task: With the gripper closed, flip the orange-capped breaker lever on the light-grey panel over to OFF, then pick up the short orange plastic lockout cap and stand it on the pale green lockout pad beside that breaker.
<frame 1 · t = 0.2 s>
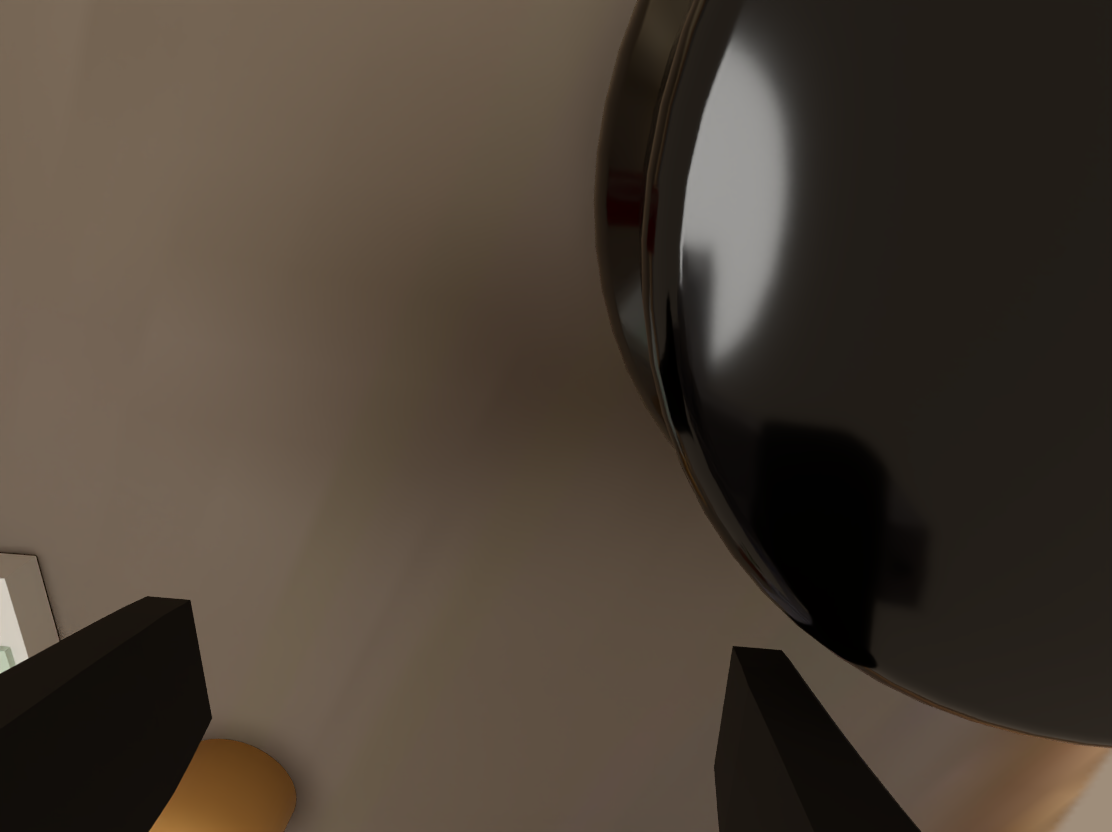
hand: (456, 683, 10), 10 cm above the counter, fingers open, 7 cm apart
lockout cap: (234, 787, 25), on the counter
supplement container: (843, 164, 16), on the counter
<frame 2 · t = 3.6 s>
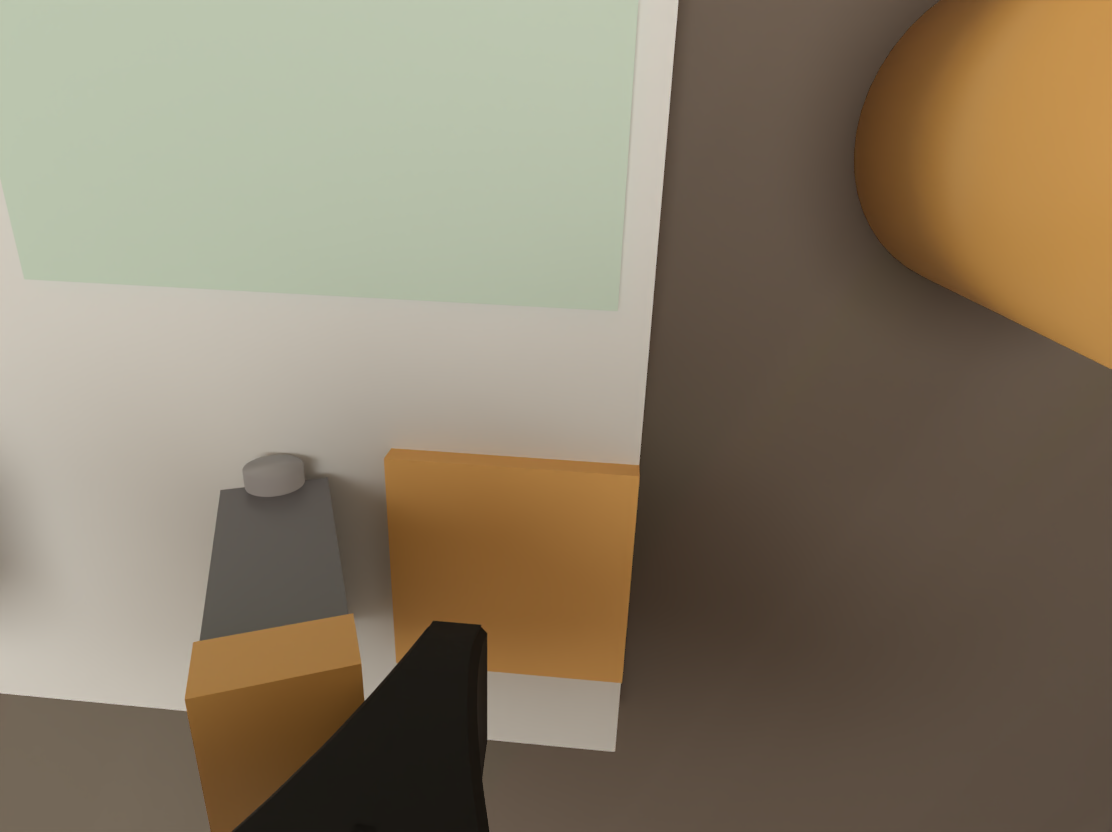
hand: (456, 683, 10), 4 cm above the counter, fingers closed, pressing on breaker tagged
lockout cap: (1013, 137, 10), on the counter
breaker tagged: (287, 644, 10), point 4 cm above the counter, hinge at 24.9°, touching gripper
panel: (157, 174, 12), on the counter
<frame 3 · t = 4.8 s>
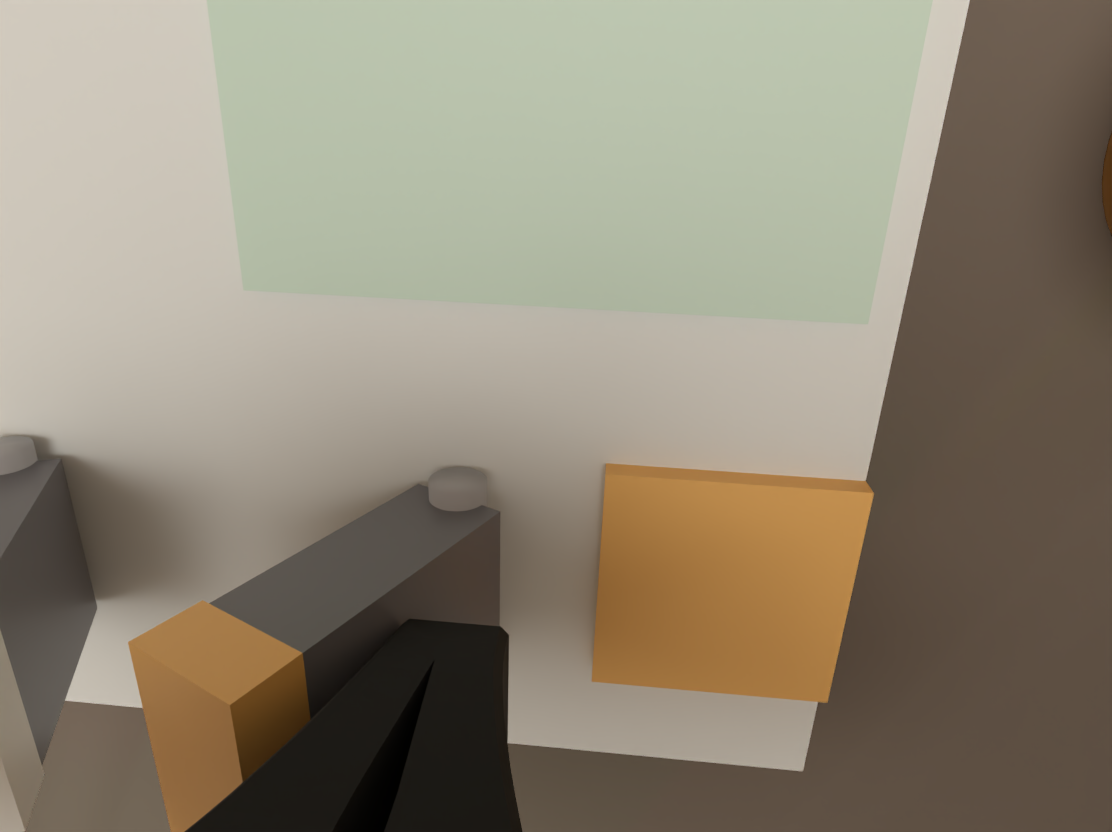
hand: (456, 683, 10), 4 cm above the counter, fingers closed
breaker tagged: (365, 652, 10), point 4 cm above the counter, hinge at -25.7°
panel: (367, 181, 11), on the counter
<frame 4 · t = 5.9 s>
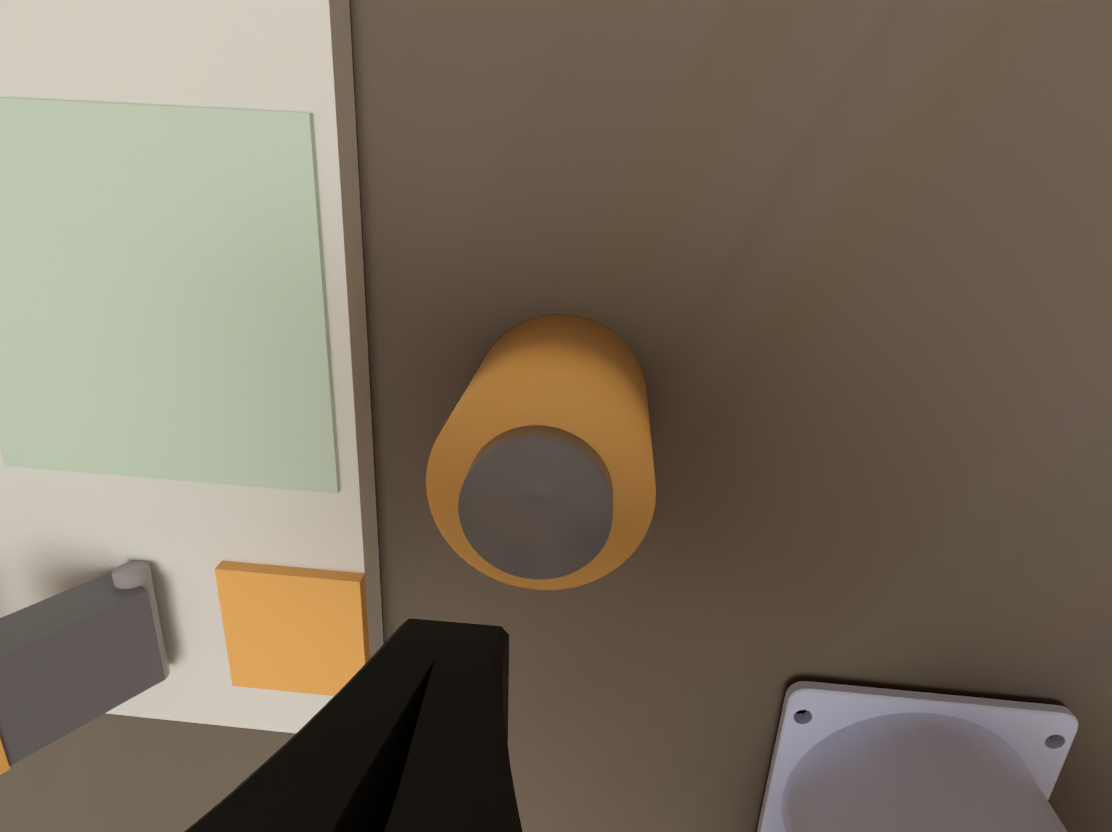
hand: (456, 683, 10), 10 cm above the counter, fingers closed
lockout cap: (560, 398, 19), on the counter
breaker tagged: (57, 665, 19), point 4 cm above the counter, hinge at -31.1°
panel: (84, 398, 20), on the counter
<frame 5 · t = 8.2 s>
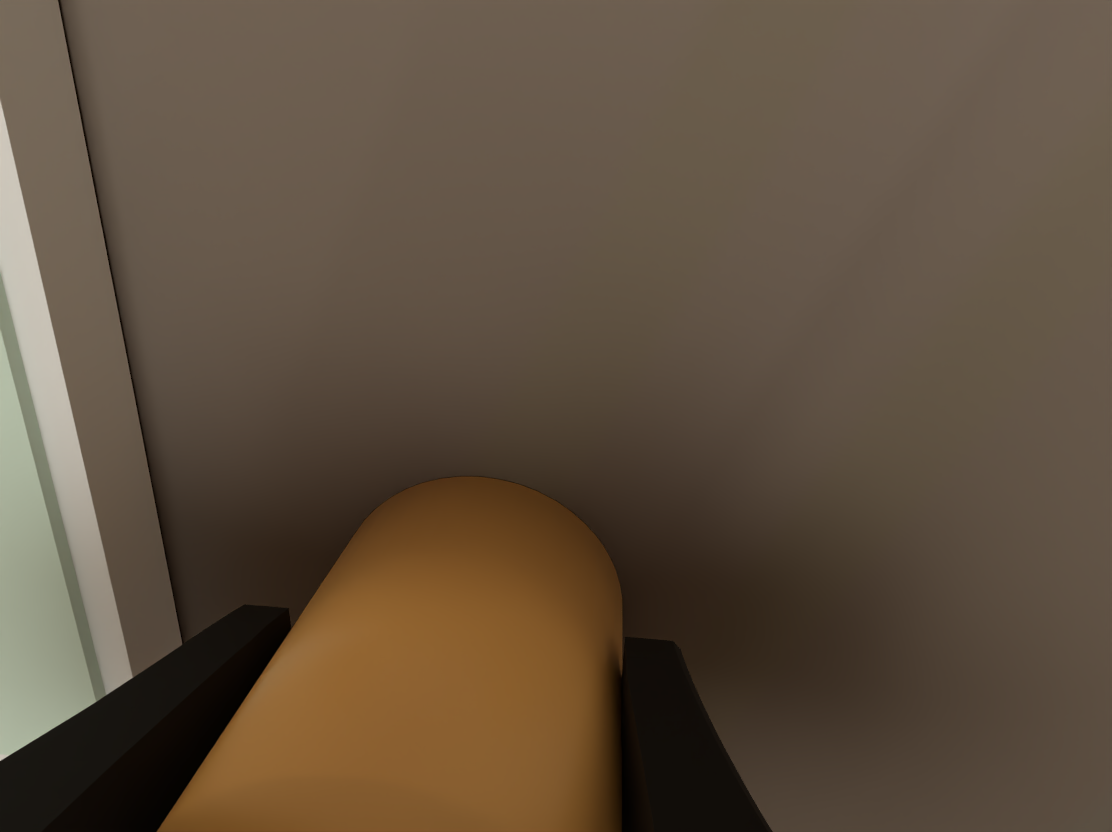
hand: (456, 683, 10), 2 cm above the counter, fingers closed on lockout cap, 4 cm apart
lockout cap: (480, 604, 11), on the counter, touching gripper
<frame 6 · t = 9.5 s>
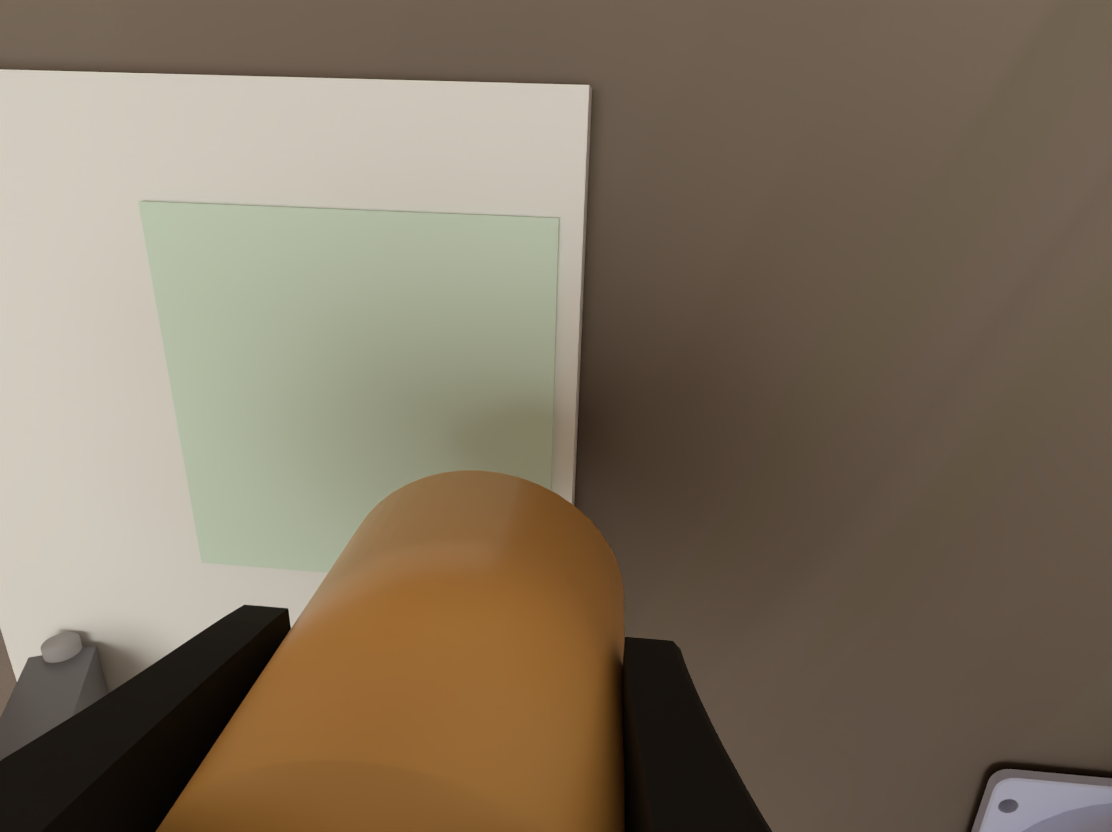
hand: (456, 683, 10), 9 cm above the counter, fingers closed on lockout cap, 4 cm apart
lockout cap: (482, 597, 11), point 7 cm above the counter, touching gripper
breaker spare: (54, 752, 19), point 4 cm above the counter, hinge at 25.0°
panel: (275, 490, 19), on the counter
when the fingers open (4 cm above the counter, at t = 11.2 s): lockout cap stays where it is, resting on panel.
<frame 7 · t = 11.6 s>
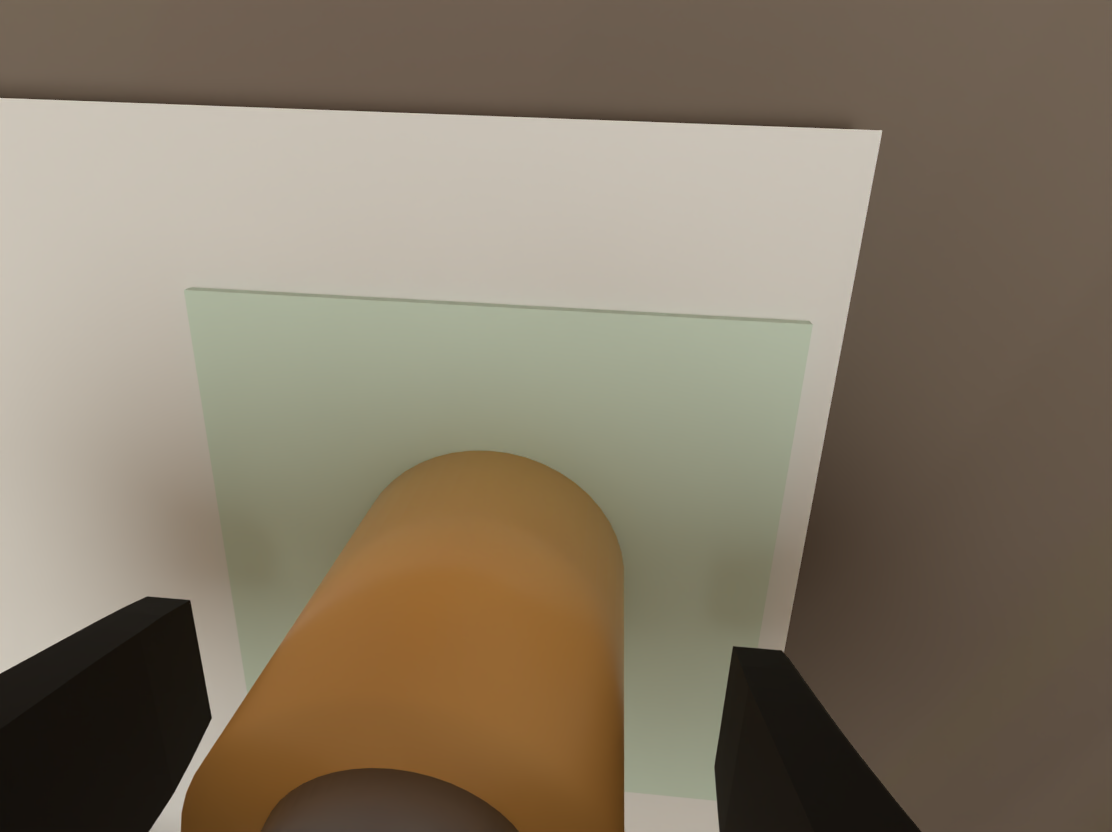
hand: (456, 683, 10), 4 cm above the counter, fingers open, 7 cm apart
lockout cap: (489, 572, 12), point 1 cm above the counter, touching panel
panel: (353, 650, 15), on the counter
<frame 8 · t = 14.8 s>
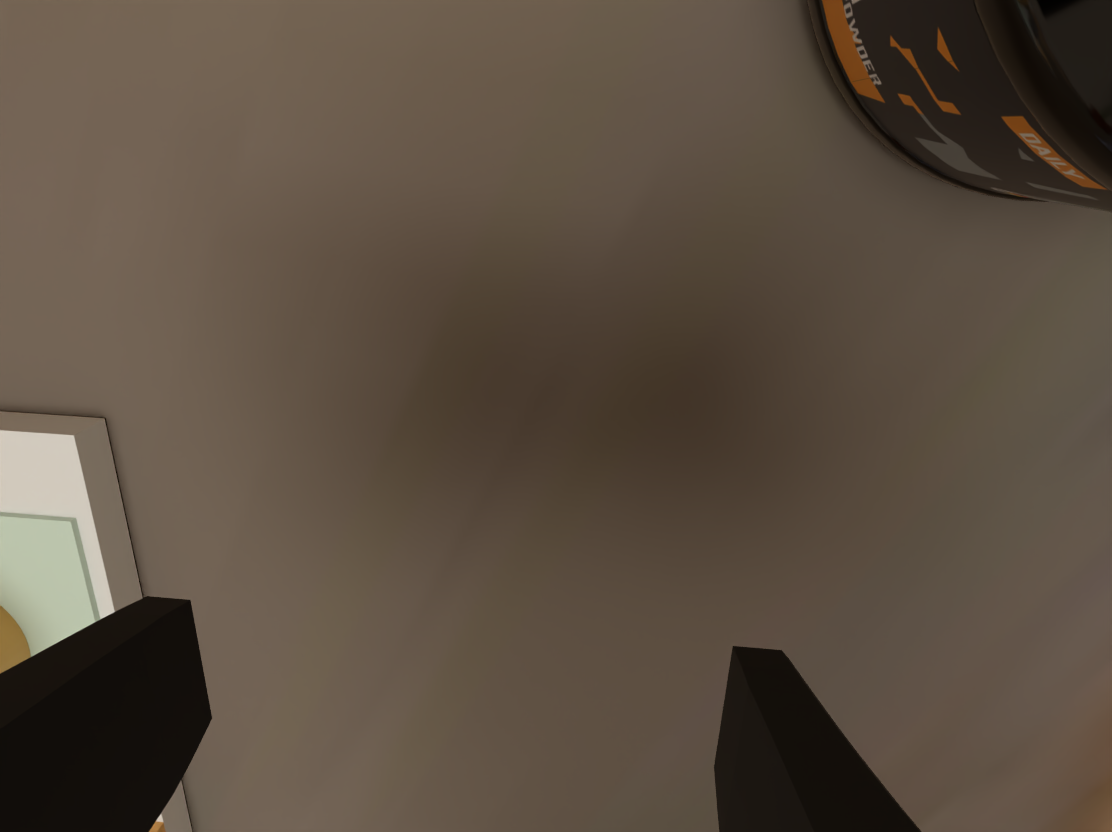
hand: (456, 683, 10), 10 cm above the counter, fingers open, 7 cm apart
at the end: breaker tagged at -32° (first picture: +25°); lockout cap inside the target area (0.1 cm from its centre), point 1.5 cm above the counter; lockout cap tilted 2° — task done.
